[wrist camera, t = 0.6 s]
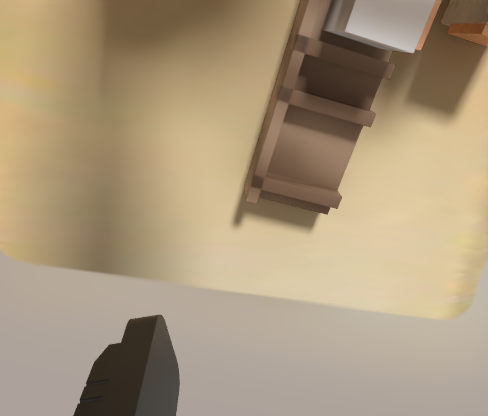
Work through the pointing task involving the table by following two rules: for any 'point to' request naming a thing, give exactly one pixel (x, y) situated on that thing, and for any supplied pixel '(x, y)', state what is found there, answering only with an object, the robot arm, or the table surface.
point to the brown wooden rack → (329, 94)
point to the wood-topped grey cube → (468, 20)
